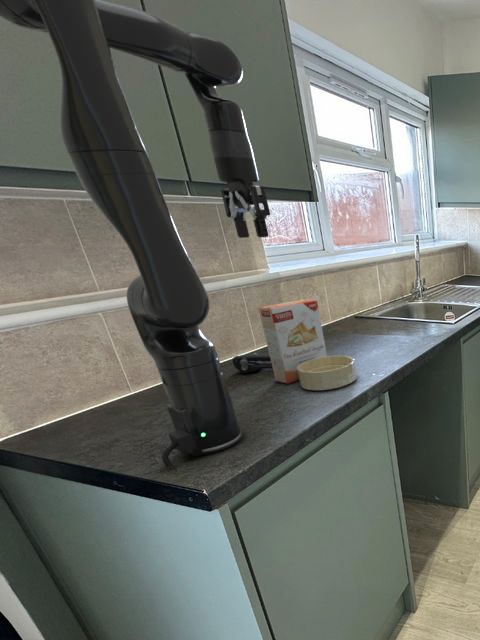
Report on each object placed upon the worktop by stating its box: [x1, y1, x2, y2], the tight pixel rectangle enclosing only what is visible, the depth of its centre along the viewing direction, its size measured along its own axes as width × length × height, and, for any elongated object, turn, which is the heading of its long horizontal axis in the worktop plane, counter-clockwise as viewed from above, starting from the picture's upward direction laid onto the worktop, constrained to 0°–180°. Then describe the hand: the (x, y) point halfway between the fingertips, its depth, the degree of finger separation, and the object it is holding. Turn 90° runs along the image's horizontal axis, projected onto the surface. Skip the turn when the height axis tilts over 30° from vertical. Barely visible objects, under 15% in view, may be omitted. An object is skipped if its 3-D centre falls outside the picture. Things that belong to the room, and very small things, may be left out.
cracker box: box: [258, 298, 328, 385], centre depth 116 cm, size 14×6×21 cm, turn 152°
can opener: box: [232, 352, 273, 374], centre depth 124 cm, size 18×7×6 cm, turn 98°
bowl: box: [297, 355, 358, 391], centre depth 113 cm, size 14×14×6 cm
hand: (253, 237), depth 95 cm, fingers open, 8 cm apart
